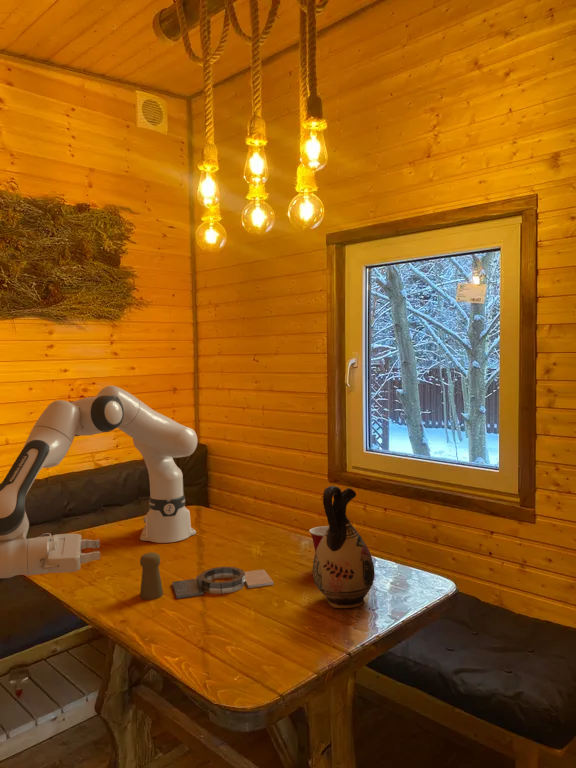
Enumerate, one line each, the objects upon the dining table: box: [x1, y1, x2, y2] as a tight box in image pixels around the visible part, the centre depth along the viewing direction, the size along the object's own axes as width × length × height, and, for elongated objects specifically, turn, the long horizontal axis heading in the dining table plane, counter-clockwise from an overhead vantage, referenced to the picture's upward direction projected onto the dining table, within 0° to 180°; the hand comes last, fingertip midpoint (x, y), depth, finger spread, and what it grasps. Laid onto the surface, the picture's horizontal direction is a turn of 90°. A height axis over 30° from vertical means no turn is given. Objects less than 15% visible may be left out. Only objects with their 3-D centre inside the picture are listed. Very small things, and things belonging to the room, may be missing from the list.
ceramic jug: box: [312, 485, 376, 609], centre depth 154 cm, size 17×15×30 cm
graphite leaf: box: [171, 566, 245, 600], centre depth 167 cm, size 12×19×3 cm, turn 108°
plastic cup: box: [308, 525, 329, 553], centre depth 177 cm, size 11×11×12 cm
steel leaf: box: [202, 569, 274, 595], centre depth 170 cm, size 12×19×1 cm, turn 108°
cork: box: [139, 552, 164, 601], centre depth 163 cm, size 6×6×11 cm
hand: (100, 549), depth 158 cm, fingers open, 8 cm apart
